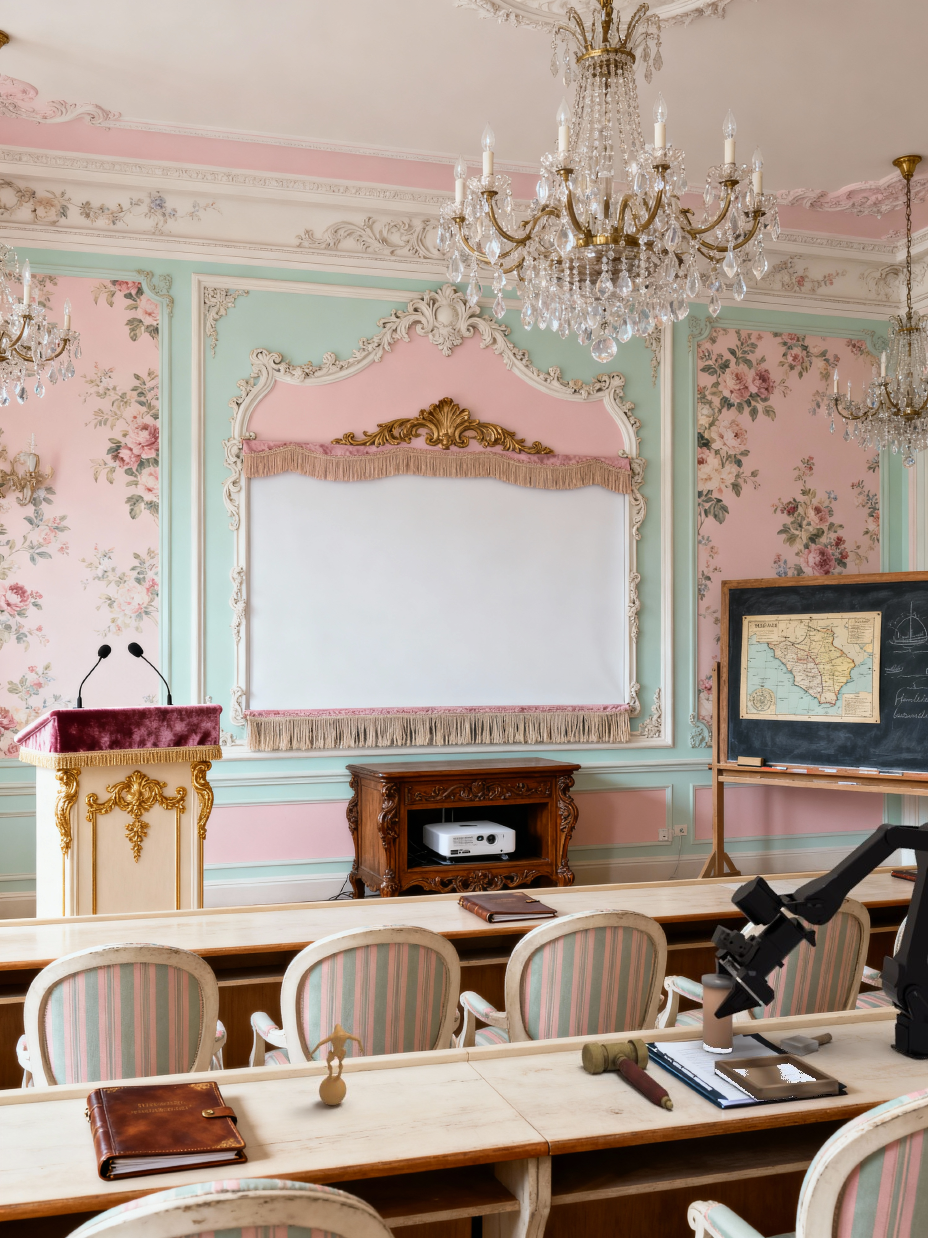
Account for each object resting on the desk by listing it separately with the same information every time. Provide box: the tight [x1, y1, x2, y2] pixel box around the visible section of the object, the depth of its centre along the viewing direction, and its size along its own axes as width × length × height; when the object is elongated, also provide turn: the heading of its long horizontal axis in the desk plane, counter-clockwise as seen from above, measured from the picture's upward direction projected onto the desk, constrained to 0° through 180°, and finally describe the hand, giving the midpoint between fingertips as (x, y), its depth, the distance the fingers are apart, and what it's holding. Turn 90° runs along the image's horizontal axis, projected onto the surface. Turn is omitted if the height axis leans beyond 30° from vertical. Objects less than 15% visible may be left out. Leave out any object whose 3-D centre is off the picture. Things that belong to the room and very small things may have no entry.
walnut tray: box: [714, 1053, 839, 1101], centre depth 164 cm, size 14×13×2 cm
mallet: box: [780, 1032, 833, 1057], centre depth 182 cm, size 11×4×2 cm, turn 127°
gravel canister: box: [701, 973, 734, 1049], centre depth 180 cm, size 5×5×12 cm
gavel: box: [581, 1038, 674, 1110], centre depth 162 cm, size 21×5×10 cm
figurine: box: [307, 1023, 365, 1106], centre depth 152 cm, size 8×6×12 cm
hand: (709, 1009), depth 180 cm, fingers open, 9 cm apart
